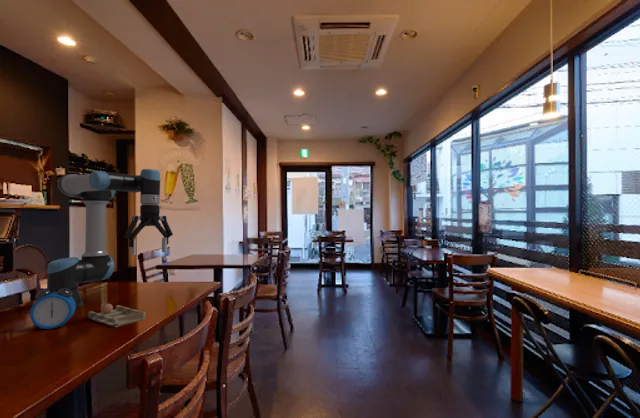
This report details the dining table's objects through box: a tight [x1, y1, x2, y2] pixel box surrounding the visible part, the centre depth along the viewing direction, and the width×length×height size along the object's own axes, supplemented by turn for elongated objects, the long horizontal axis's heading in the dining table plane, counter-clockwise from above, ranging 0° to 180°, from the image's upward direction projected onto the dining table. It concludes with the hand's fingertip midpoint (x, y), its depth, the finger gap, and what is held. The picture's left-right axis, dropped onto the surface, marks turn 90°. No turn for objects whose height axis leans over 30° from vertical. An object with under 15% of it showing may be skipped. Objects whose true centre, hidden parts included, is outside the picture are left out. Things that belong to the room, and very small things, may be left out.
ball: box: [101, 303, 114, 313], centre depth 141 cm, size 4×4×4 cm
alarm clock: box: [29, 288, 77, 331], centre depth 127 cm, size 13×6×15 cm, turn 115°
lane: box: [88, 304, 147, 328], centre depth 137 cm, size 22×12×3 cm, turn 59°
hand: (149, 253), depth 140 cm, fingers open, 13 cm apart
